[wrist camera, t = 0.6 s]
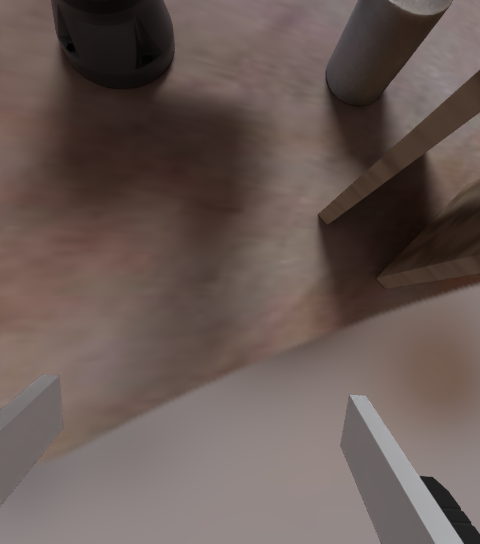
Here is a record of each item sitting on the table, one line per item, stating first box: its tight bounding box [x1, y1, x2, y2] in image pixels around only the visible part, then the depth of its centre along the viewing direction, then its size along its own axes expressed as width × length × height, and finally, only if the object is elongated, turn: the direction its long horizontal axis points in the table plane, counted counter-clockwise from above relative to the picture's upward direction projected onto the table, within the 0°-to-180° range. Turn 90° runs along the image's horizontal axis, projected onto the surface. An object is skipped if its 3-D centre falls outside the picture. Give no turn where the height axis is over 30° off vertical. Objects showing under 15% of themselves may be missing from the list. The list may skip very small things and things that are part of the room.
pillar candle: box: [326, 0, 453, 106], centre depth 38 cm, size 10×10×15 cm
